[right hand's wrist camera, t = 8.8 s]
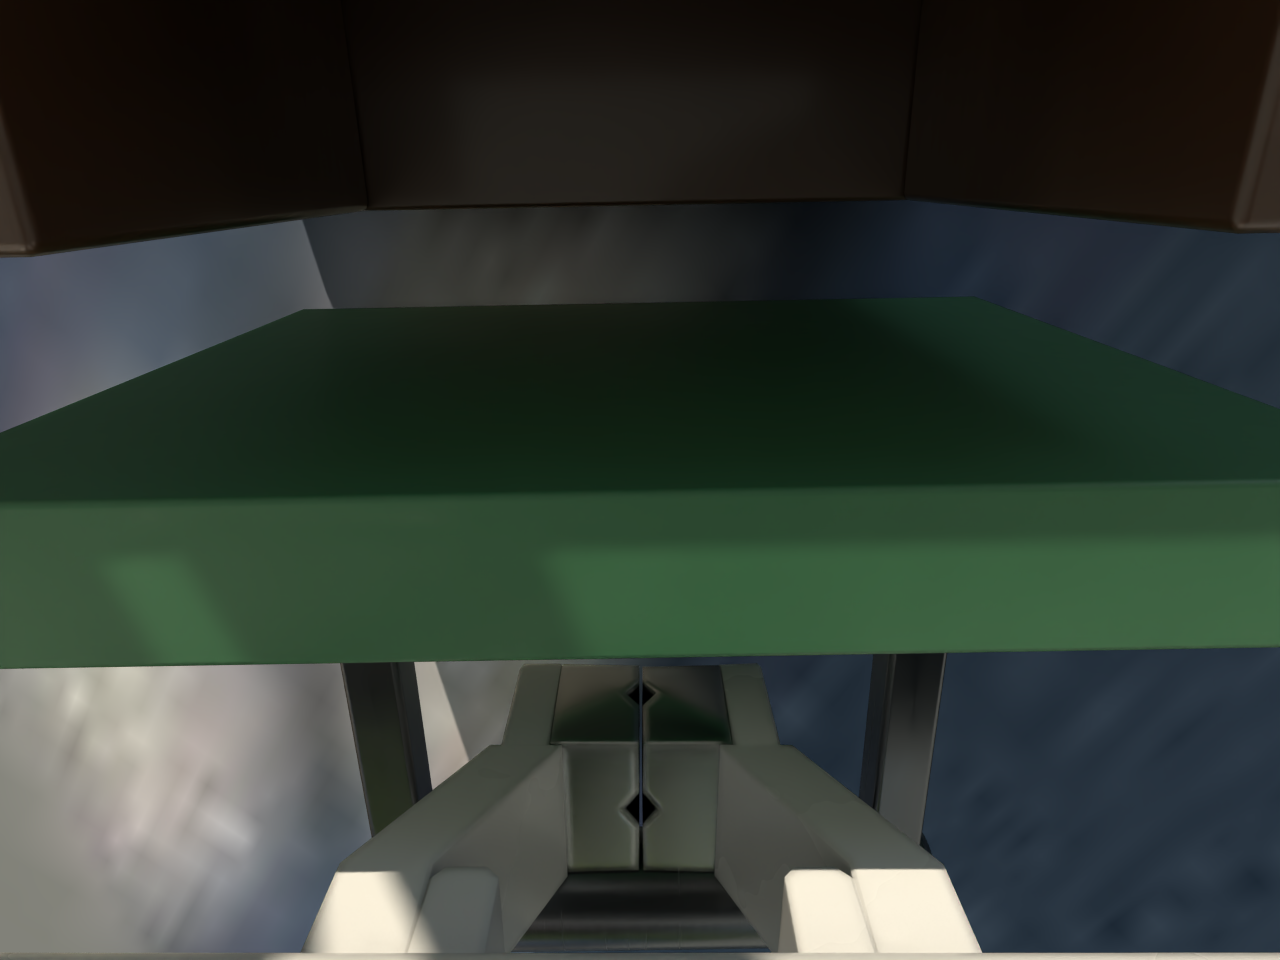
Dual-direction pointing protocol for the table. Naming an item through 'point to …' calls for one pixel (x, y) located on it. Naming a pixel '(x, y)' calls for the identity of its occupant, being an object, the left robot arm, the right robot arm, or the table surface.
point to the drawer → (636, 364)
